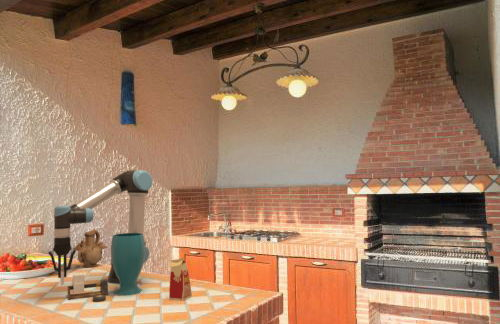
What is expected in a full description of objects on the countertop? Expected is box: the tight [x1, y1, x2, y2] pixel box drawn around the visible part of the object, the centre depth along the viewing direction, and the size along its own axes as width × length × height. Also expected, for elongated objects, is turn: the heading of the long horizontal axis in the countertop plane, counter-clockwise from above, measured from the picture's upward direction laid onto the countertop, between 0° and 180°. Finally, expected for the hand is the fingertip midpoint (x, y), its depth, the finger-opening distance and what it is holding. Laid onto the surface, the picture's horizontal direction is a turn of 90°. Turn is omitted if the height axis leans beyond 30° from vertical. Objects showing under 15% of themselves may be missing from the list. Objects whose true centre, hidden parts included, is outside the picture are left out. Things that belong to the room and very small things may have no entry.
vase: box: [110, 232, 146, 296], centre depth 236 cm, size 17×17×30 cm
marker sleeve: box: [72, 273, 85, 294], centre depth 226 cm, size 5×4×8 cm
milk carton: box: [168, 257, 193, 301], centre depth 222 cm, size 9×9×20 cm
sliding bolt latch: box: [66, 278, 109, 301], centre depth 228 cm, size 19×7×7 cm, turn 116°
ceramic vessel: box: [72, 228, 108, 268], centre depth 309 cm, size 18×19×25 cm
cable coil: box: [92, 295, 107, 303], centre depth 219 cm, size 6×6×2 cm
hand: (62, 284), depth 223 cm, fingers closed
